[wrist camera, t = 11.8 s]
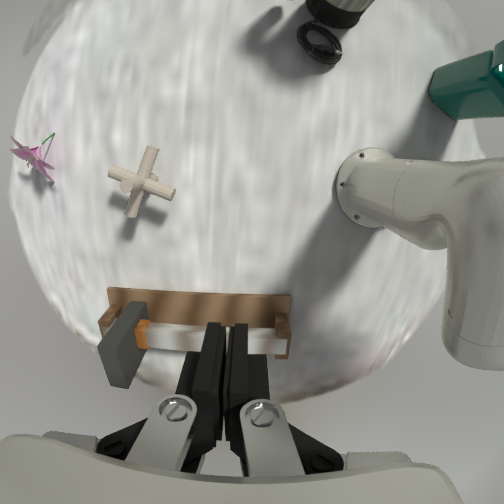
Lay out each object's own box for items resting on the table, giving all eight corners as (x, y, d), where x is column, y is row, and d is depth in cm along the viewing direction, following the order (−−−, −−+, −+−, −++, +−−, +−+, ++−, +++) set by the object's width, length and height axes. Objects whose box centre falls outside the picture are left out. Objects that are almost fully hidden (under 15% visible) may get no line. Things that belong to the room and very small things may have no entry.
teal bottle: (466, 91, 34) (549, 80, 13) (456, 124, 36) (547, 123, 16) (430, 59, 33) (512, 28, 12) (419, 92, 35) (510, 69, 14)
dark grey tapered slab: (146, 302, 45) (115, 349, 32) (152, 338, 47) (128, 389, 34) (130, 300, 45) (97, 346, 32) (137, 336, 47) (110, 385, 34)
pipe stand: (290, 294, 46) (296, 317, 39) (284, 347, 50) (289, 373, 43) (109, 286, 46) (90, 305, 39) (119, 336, 49) (105, 359, 42)
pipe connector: (170, 220, 42) (149, 238, 33) (116, 198, 41) (84, 209, 31) (194, 159, 39) (177, 159, 30) (136, 138, 38) (106, 134, 28)
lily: (26, 140, 37) (-5, 167, 31) (45, 98, 31) (6, 123, 25) (62, 176, 44) (34, 208, 37) (86, 139, 38) (52, 170, 31)
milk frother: (347, -12, 29) (376, -55, 15) (383, 60, 34) (431, 31, 20) (270, -4, 30) (277, -57, 16) (304, 71, 35) (330, 32, 21)
